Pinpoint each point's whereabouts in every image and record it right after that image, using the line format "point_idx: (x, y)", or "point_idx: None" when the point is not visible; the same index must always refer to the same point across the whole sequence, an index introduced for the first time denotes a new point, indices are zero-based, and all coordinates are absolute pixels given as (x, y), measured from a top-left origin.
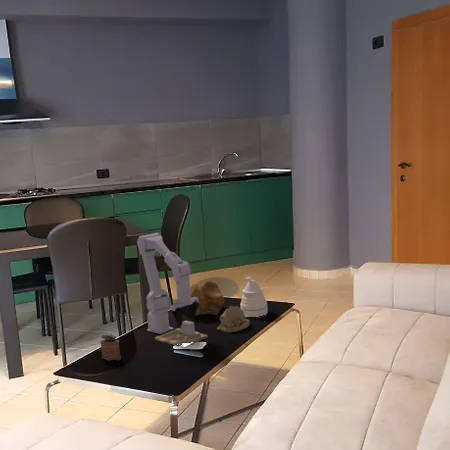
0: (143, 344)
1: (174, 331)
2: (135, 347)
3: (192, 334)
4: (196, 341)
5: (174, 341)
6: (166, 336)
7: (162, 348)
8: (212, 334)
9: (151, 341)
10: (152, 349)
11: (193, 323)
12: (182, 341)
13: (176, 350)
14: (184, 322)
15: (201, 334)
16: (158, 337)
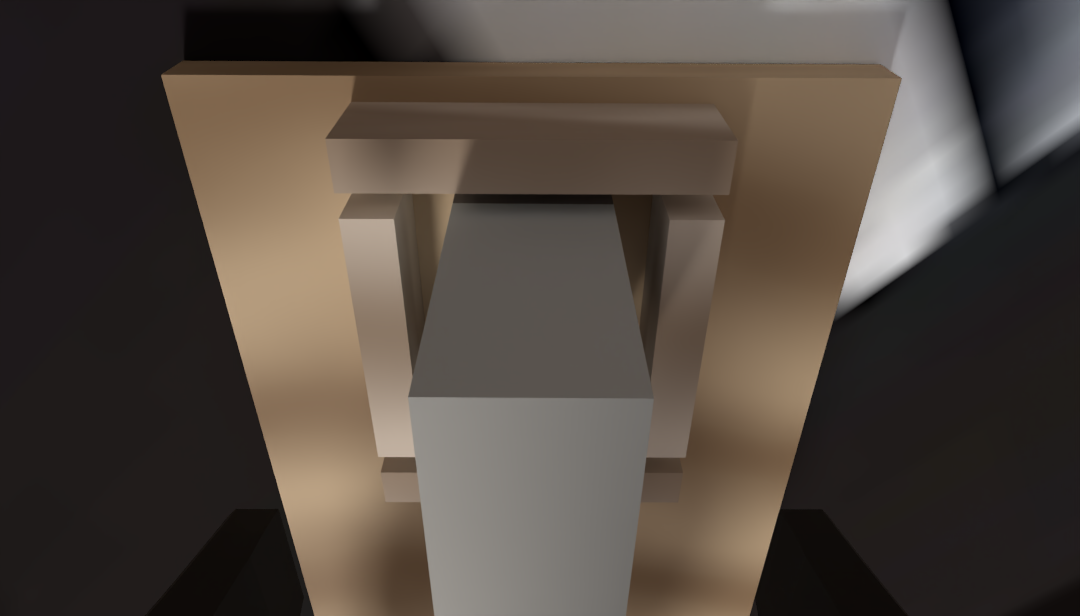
0: (922, 605)
1: None
2: (1039, 610)
3: (526, 218)
4: (521, 66)
5: (774, 365)
6: (645, 564)
7: (1004, 357)
8: (4, 95)
9: None
10: (1073, 437)
11: (433, 377)
12: (720, 256)
13: (1052, 97)
14: (572, 577)
15: (233, 212)
16: (722, 608)
